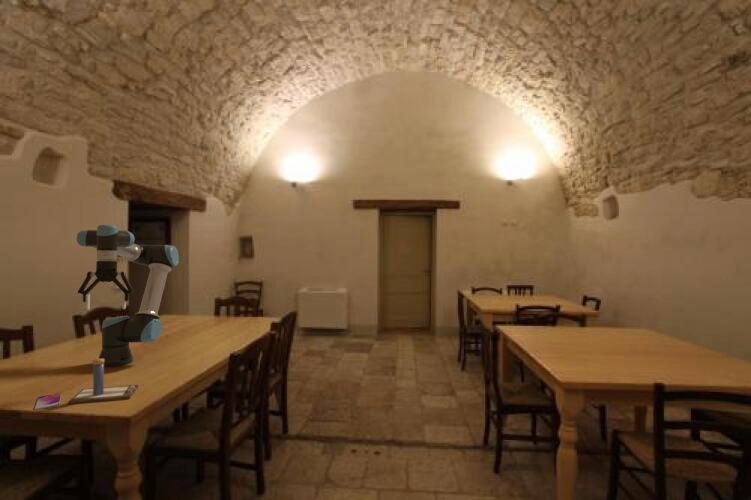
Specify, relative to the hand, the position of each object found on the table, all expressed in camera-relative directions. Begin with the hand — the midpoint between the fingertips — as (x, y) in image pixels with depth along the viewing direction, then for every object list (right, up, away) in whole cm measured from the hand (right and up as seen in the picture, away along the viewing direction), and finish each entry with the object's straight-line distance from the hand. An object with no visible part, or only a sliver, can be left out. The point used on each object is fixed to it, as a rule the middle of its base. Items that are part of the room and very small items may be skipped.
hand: (106, 309), depth 175 cm
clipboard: (+10, -32, -15) cm, 37 cm away
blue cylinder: (+9, -31, -18) cm, 36 cm away
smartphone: (-6, -32, -23) cm, 40 cm away
